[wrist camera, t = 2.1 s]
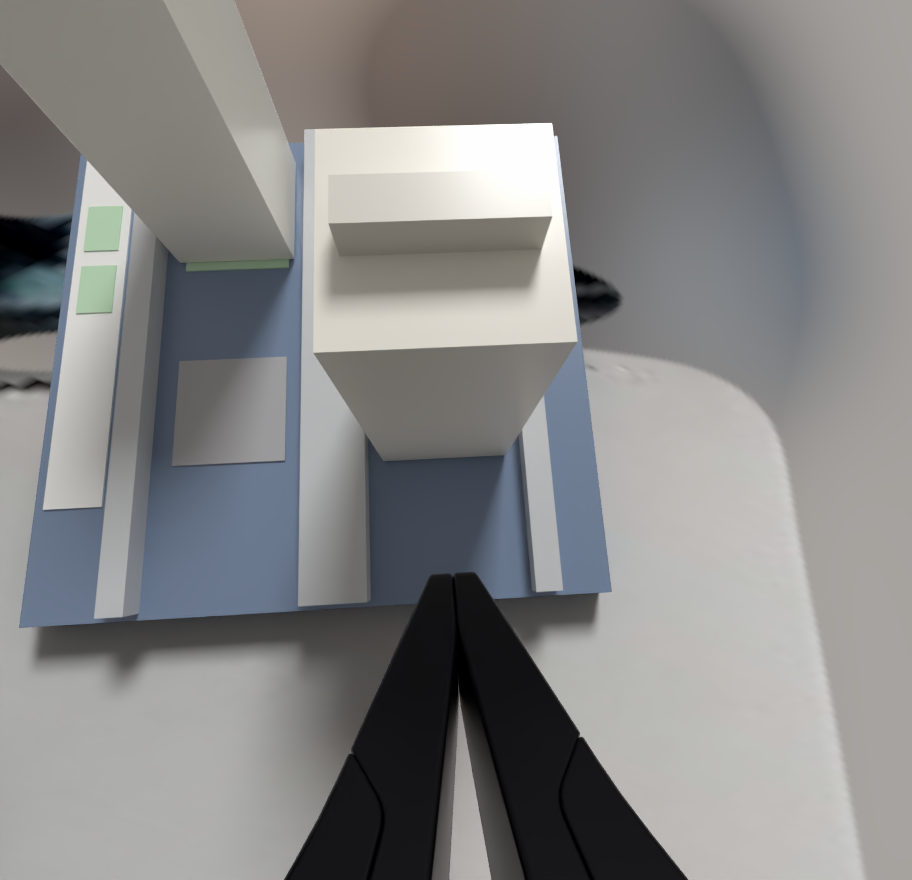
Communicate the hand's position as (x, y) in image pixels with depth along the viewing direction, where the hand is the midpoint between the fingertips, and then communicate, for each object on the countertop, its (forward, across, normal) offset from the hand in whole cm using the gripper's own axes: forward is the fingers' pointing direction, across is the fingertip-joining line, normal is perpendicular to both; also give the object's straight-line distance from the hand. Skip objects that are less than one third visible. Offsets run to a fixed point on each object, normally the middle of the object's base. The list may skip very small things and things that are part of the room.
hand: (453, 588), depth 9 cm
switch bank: (+11, +4, 0) cm, 12 cm away
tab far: (+14, +7, -5) cm, 16 cm away
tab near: (+9, 0, +1) cm, 9 cm away
